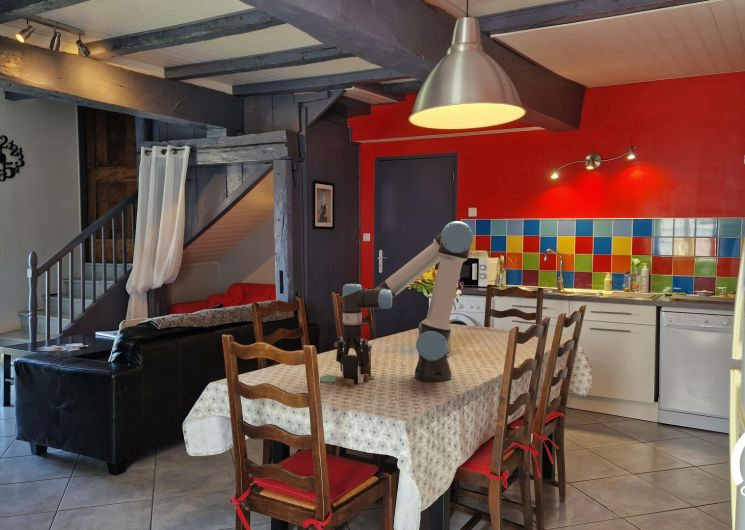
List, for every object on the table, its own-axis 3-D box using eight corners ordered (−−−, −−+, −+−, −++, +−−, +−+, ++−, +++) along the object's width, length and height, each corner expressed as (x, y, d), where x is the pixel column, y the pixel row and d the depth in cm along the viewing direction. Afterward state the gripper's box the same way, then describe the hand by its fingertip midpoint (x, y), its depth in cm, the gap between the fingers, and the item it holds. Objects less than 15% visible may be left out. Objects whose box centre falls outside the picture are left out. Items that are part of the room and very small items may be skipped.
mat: (347, 379, 259) (347, 377, 259) (332, 384, 251) (332, 382, 251) (328, 376, 265) (328, 374, 265) (312, 381, 257) (312, 379, 257)
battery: (362, 383, 252) (362, 354, 251) (357, 385, 249) (357, 356, 248) (347, 381, 255) (347, 353, 255) (342, 383, 252) (342, 354, 251)
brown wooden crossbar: (368, 350, 258) (368, 346, 258) (333, 347, 266) (333, 342, 266) (373, 349, 261) (373, 344, 261) (338, 345, 269) (338, 341, 269)
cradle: (379, 378, 261) (378, 350, 260) (352, 387, 245) (352, 358, 244) (362, 376, 265) (362, 348, 265) (335, 385, 249) (335, 356, 249)
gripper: (326, 322, 253) (326, 379, 254) (367, 326, 242) (368, 386, 243) (337, 320, 259) (338, 376, 261) (378, 324, 248) (378, 382, 250)
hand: (352, 380), depth 252 cm, fingers closed on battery, 7 cm apart
